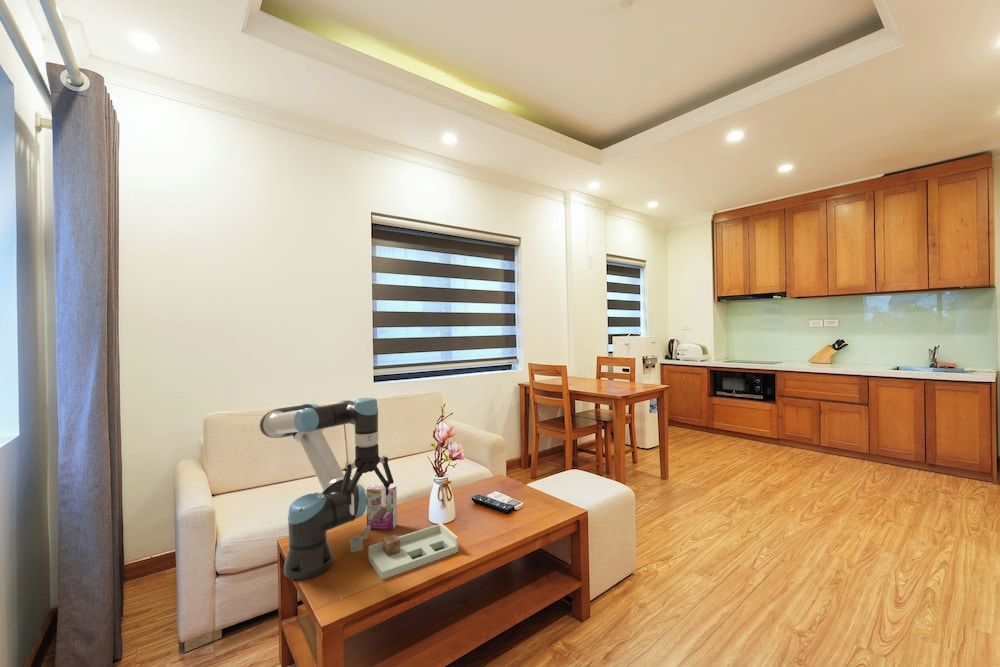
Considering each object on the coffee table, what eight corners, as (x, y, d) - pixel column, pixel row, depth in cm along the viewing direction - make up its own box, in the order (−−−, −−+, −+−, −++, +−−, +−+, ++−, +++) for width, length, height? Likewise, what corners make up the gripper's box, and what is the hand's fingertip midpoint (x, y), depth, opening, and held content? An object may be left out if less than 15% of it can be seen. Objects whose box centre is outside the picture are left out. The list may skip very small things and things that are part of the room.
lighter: (351, 552, 153) (350, 530, 152) (350, 550, 154) (350, 528, 154) (371, 547, 156) (371, 526, 156) (370, 545, 157) (370, 524, 157)
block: (387, 556, 145) (387, 543, 145) (383, 551, 149) (383, 538, 149) (400, 552, 148) (400, 539, 147) (395, 547, 151) (395, 534, 151)
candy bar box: (366, 529, 170) (365, 489, 169) (371, 523, 175) (370, 484, 174) (393, 530, 169) (392, 490, 168) (397, 524, 174) (396, 485, 173)
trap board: (382, 579, 136) (381, 563, 136) (368, 560, 148) (368, 544, 147) (458, 552, 152) (458, 537, 152) (440, 536, 163) (440, 522, 163)
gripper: (334, 453, 133) (336, 522, 134) (402, 441, 146) (404, 504, 147) (329, 447, 139) (330, 514, 140) (395, 436, 152) (396, 497, 153)
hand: (368, 509), depth 143 cm, fingers open, 10 cm apart
